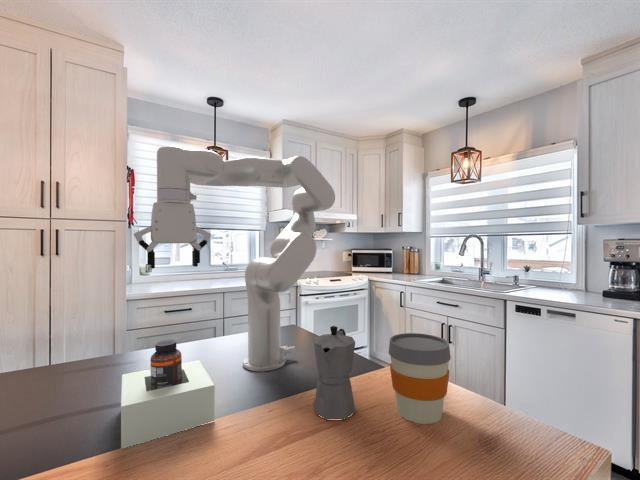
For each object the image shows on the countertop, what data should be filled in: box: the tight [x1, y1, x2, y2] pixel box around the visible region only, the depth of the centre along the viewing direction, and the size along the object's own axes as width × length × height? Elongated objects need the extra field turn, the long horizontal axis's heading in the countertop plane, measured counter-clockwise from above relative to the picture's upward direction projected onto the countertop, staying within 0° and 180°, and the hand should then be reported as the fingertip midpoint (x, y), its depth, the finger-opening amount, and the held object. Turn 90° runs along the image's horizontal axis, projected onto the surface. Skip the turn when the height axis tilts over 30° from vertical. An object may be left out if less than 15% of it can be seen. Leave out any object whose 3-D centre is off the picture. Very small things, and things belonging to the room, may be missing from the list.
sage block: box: [120, 359, 216, 450], centre depth 67 cm, size 16×16×8 cm
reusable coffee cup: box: [388, 332, 451, 425], centre depth 68 cm, size 13×13×15 cm
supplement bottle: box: [149, 339, 183, 390], centre depth 67 cm, size 6×6×11 cm
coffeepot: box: [312, 325, 356, 419], centre depth 70 cm, size 15×9×18 cm, turn 162°
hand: (174, 267), depth 79 cm, fingers open, 9 cm apart
